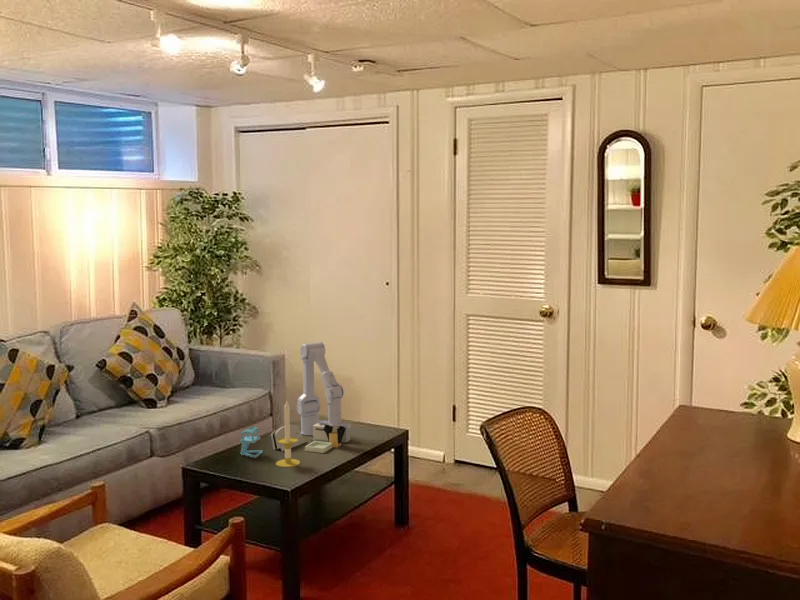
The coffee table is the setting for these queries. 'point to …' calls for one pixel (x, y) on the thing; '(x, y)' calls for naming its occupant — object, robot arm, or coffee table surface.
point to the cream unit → (319, 433)
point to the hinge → (281, 434)
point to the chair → (248, 440)
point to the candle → (287, 442)
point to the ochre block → (334, 438)
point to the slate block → (346, 435)
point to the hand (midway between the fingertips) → (335, 442)
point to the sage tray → (318, 446)
